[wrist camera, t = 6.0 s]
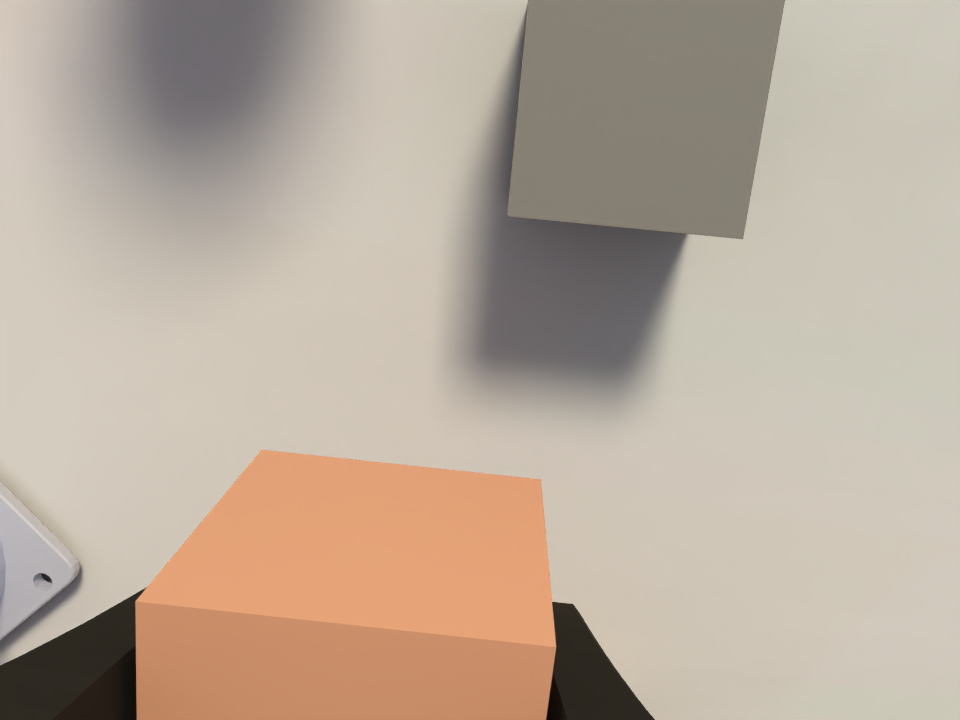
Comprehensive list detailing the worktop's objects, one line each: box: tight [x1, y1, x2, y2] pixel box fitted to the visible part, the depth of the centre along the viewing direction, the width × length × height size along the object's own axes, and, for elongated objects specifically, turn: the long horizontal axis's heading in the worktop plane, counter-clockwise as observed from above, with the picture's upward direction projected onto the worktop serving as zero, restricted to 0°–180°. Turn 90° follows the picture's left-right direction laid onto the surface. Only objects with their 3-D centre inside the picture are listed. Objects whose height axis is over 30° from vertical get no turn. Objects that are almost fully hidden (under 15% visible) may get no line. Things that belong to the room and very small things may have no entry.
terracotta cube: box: [135, 450, 556, 720], centre depth 11 cm, size 4×4×4 cm
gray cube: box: [508, 0, 785, 239], centre depth 17 cm, size 4×4×4 cm
